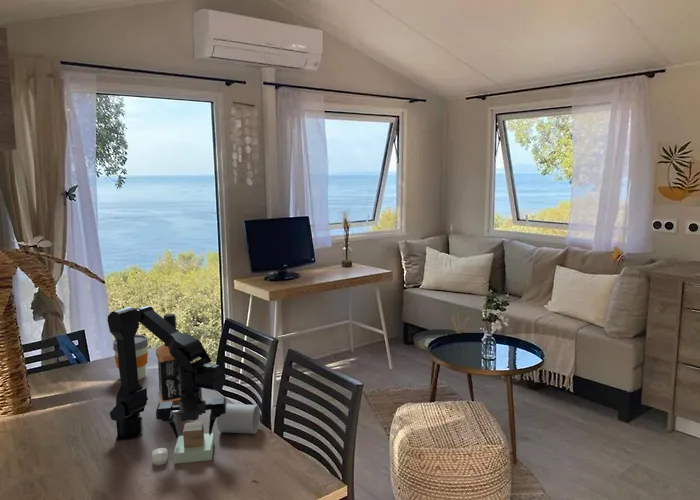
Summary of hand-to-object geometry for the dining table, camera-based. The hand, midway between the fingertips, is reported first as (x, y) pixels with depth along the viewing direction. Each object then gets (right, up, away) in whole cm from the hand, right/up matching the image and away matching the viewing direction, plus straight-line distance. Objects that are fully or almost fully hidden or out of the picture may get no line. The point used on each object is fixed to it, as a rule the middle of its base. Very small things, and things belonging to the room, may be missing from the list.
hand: (193, 436), depth 157 cm
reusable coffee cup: (-40, +3, +58) cm, 71 cm away
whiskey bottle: (-15, 0, +32) cm, 36 cm away
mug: (+5, +1, +15) cm, 15 cm away
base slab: (0, -5, +1) cm, 5 cm away
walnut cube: (0, -2, 0) cm, 2 cm away
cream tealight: (-8, -6, -4) cm, 11 cm away
